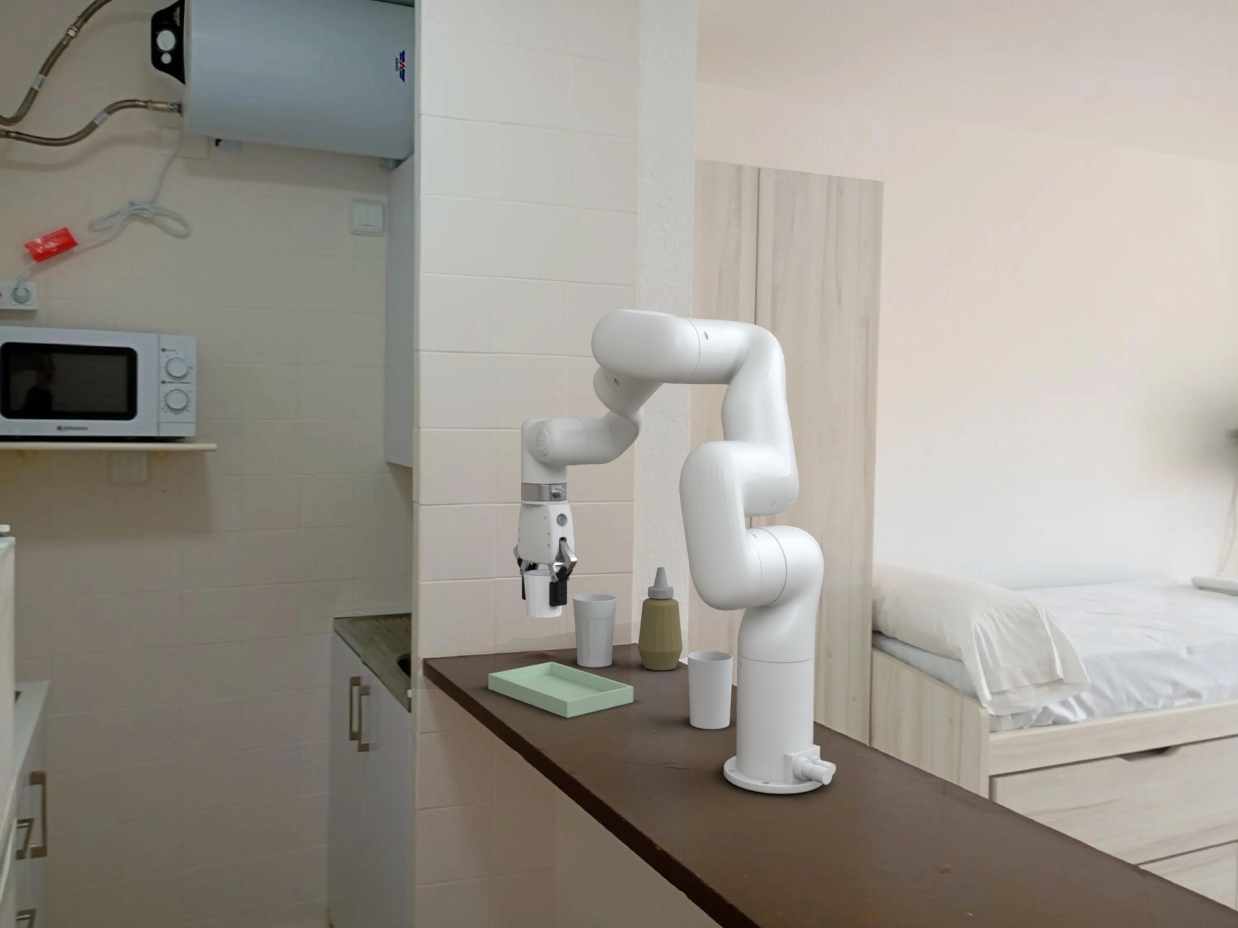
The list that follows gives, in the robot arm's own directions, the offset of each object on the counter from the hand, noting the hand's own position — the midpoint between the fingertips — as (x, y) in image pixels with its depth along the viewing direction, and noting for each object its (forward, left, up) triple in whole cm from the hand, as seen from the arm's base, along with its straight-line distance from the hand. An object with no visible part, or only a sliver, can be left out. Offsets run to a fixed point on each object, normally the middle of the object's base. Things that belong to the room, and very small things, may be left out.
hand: (544, 601), depth 169 cm
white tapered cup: (0, 0, -2) cm, 2 cm away
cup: (+8, -18, -15) cm, 24 cm away
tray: (-5, 0, -15) cm, 15 cm away
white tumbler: (-31, -8, -15) cm, 35 cm away
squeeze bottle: (-2, -25, -15) cm, 29 cm away
